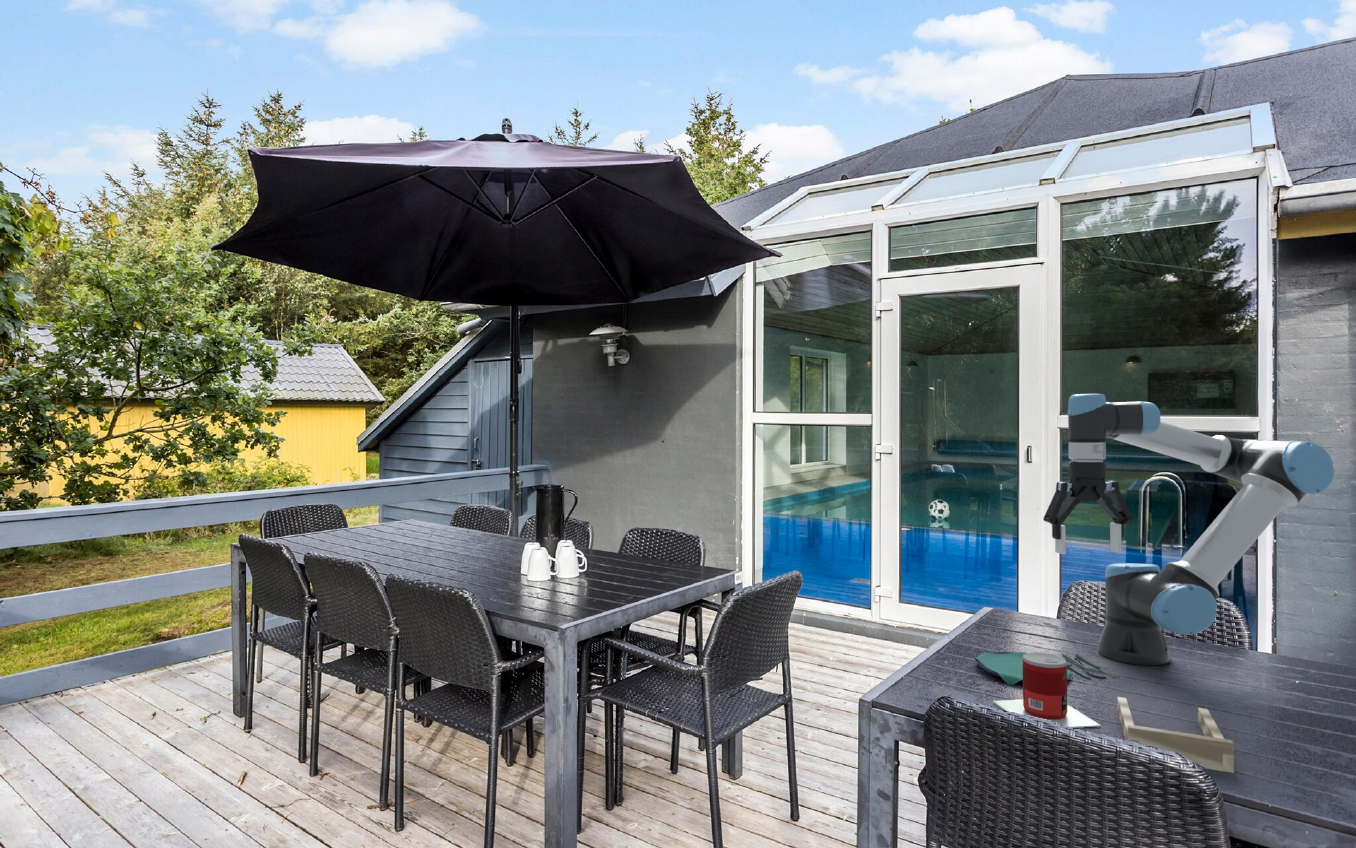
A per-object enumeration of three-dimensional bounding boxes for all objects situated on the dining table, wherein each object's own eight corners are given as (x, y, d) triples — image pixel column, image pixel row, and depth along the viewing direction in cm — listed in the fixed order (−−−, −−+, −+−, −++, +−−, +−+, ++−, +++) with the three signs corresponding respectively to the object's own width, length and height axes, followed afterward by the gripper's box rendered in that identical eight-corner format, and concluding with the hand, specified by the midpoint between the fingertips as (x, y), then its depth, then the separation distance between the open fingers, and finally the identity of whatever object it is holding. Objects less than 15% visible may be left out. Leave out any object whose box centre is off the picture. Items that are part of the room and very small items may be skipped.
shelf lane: (1117, 711, 147) (1117, 686, 147) (1207, 724, 140) (1207, 698, 140) (1129, 755, 128) (1128, 727, 128) (1234, 773, 121) (1233, 743, 121)
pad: (1056, 699, 153) (1056, 697, 153) (1100, 727, 139) (1100, 725, 139) (993, 702, 152) (993, 701, 152) (1031, 731, 138) (1031, 729, 138)
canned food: (1072, 721, 141) (1072, 665, 141) (1029, 718, 143) (1028, 663, 143) (1060, 706, 149) (1059, 653, 149) (1018, 704, 150) (1018, 651, 150)
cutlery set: (961, 660, 179) (961, 651, 179) (1075, 657, 182) (1075, 648, 182) (1004, 691, 159) (1004, 681, 159) (1131, 687, 162) (1132, 677, 162)
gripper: (1045, 462, 162) (1046, 557, 162) (1149, 460, 164) (1150, 553, 164) (1026, 460, 169) (1027, 551, 169) (1126, 458, 171) (1127, 547, 172)
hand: (1088, 552), depth 167 cm, fingers open, 13 cm apart
